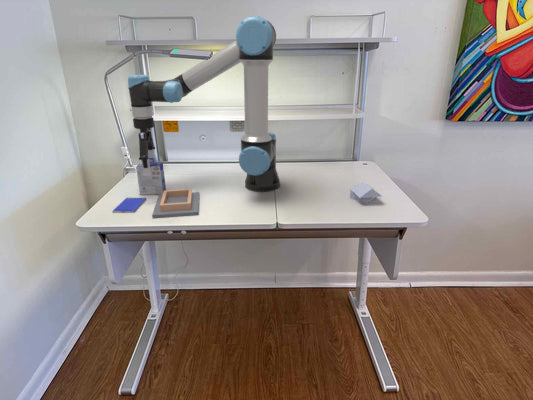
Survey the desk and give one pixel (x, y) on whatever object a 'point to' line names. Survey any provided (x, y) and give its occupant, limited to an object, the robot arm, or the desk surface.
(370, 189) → the pale grey faceted rock
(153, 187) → the ink cartridge box
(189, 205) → the grey holder tray
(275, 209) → the desk surface
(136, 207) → the hard drive
